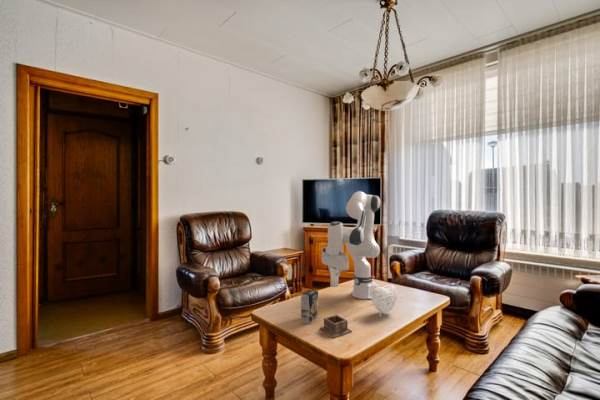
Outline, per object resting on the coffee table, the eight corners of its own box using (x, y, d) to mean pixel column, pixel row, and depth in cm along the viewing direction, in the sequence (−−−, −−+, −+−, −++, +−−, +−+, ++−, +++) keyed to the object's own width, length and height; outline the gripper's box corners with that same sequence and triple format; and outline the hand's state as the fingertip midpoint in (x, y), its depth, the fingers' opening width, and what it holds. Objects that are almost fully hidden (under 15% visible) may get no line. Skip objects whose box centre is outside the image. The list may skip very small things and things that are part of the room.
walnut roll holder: (336, 323, 164) (336, 312, 164) (351, 332, 154) (351, 320, 154) (319, 329, 158) (319, 318, 158) (334, 338, 148) (334, 326, 148)
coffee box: (310, 324, 163) (310, 295, 163) (300, 321, 167) (300, 293, 166) (318, 318, 171) (318, 290, 171) (308, 316, 175) (308, 288, 174)
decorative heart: (380, 321, 168) (380, 291, 167) (367, 314, 177) (367, 286, 176) (401, 314, 177) (401, 285, 177) (387, 308, 186) (388, 281, 186)
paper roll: (334, 284, 170) (335, 266, 170) (339, 286, 167) (340, 268, 167) (328, 285, 168) (329, 267, 168) (333, 287, 164) (334, 269, 164)
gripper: (351, 253, 160) (351, 278, 160) (328, 247, 177) (327, 270, 177) (343, 254, 157) (342, 280, 157) (319, 248, 174) (319, 271, 174)
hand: (334, 274), depth 167 cm, fingers closed on paper roll, 4 cm apart
